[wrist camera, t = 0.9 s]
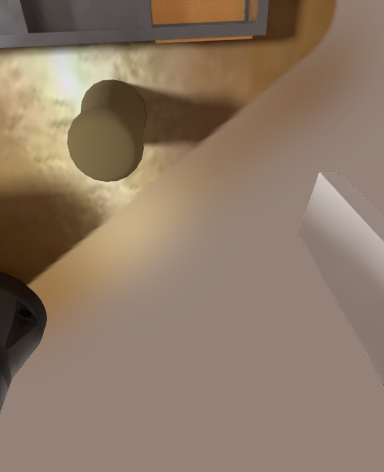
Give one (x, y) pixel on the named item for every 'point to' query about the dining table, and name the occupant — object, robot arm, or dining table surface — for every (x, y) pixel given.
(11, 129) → the dining table surface
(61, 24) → the rack
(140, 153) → the olive pawn-shaped piece
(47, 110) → the dining table surface
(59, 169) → the dining table surface
